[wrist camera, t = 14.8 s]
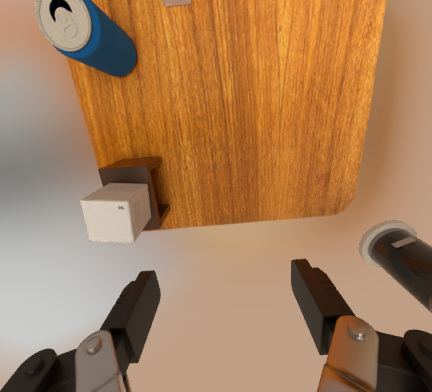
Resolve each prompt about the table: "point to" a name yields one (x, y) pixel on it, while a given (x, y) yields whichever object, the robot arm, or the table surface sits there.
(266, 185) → the table surface
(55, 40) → the beverage can
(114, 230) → the product box
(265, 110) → the table surface
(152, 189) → the shelf
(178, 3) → the figurine
